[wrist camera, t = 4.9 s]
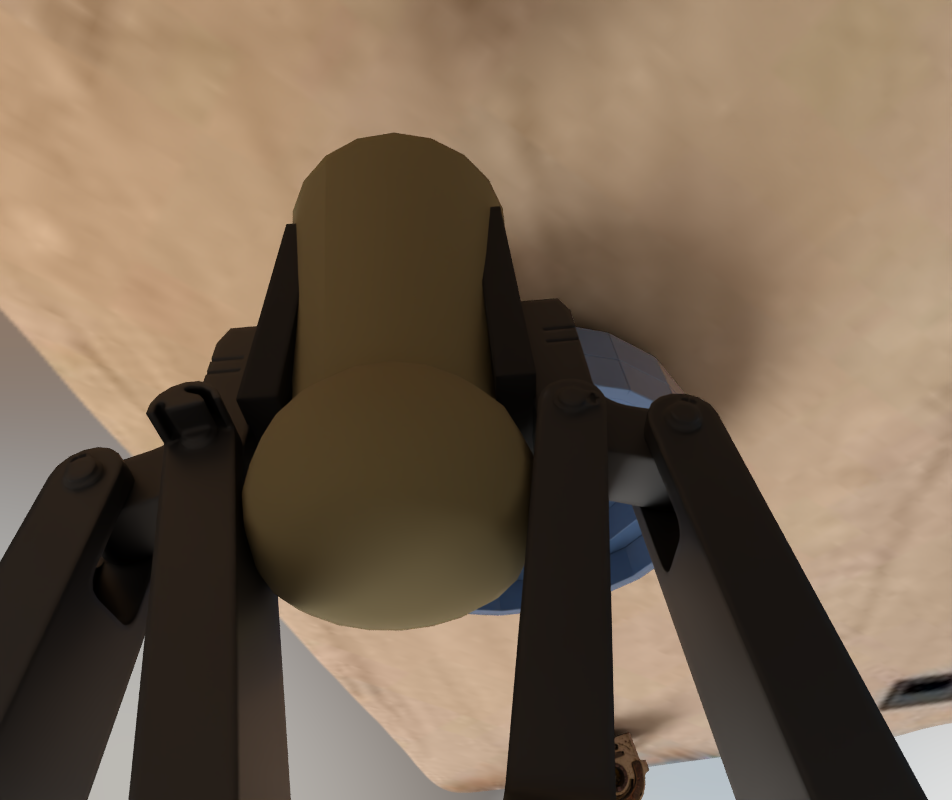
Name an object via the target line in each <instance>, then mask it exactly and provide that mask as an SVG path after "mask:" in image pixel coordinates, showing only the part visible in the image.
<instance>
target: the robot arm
mask: <svg viewBox="0 0 952 800" xmlns="http://www.w3.org/2000/svg"><path fill="white" fill-rule="evenodd" d="M482 286H483V294H484V302H485V311H486V319H487V328H488V337H489V345H490V354H491V363H492V371H493V380H494V389H495V397H496V401H497V402H499V403H500V404H502V405H503V406H504V407H505V409H506V410H507V412H508V413H509V415H510V416H511V418H512V419H513V421H514V423H515V424H516V426H517V427H518V429H519V430H520V432H521V434H522V435H523V437H524V439H525V441H526V443H527V444H528V446H529V448H530V450H531V452H532V454H533V457H534V458H533V469H532V481H531V493H530V504H529V516H528V528H527V540H526V551H525V563H524V575H523V586H522V598H521V610H520V622H519V633H518V645H517V657H516V668H515V680H514V692H513V703H512V715H511V727H510V739H509V750H508V762H507V774H506V784H505V792H504V798H503V800H616V778H615V736H614V695H613V654H612V613H611V572H610V531H609V501H614V502H619V503H624V504H629V505H632V507H633V510H634V513H635V515H636V518H637V521H638V524H639V527H640V530H641V532H642V535H643V538H644V541H645V544H646V547H647V549H648V552H649V555H650V558H651V561H652V563H653V566H654V569H655V572H656V575H657V578H658V580H659V583H660V586H661V589H662V592H663V595H664V597H665V600H666V603H667V606H668V609H669V612H670V614H671V617H672V620H673V623H674V626H675V629H676V631H677V634H678V637H679V640H680V643H681V646H682V648H683V651H684V654H685V657H686V660H687V663H688V665H689V668H690V671H691V674H692V677H693V680H694V682H695V685H696V688H697V691H698V694H699V697H700V699H701V702H702V705H703V708H704V711H705V714H706V716H707V719H708V722H709V725H710V728H711V731H712V733H713V736H714V739H715V742H716V745H717V747H718V750H719V753H720V756H721V759H722V761H723V764H724V767H725V770H726V773H727V776H728V779H729V781H730V784H731V787H732V790H733V793H734V795H735V798H736V800H928V799H927V797H926V795H925V793H924V792H923V790H922V788H921V786H920V784H919V782H918V781H917V779H916V777H915V775H914V773H913V772H912V770H911V768H910V766H909V764H908V762H907V760H906V758H905V757H904V755H903V753H902V751H901V749H900V748H899V746H898V744H897V742H896V740H895V738H894V736H893V735H892V733H891V731H890V729H889V727H888V725H887V724H886V722H885V720H884V718H883V716H882V714H881V713H880V711H879V709H878V707H877V705H876V703H875V702H874V700H873V698H872V696H871V694H870V692H869V691H868V689H867V687H866V685H865V683H864V681H863V680H862V678H861V676H860V674H859V672H858V670H857V669H856V667H855V665H854V663H853V661H852V659H851V657H850V656H849V654H848V652H847V650H846V648H845V646H844V645H843V643H842V641H841V639H840V637H839V635H838V634H837V632H836V630H835V628H834V626H833V624H832V623H831V621H830V619H829V617H828V615H827V613H826V612H825V610H824V608H823V606H822V604H821V602H820V601H819V599H818V597H817V595H816V593H815V591H814V590H813V588H812V586H811V584H810V582H809V580H808V579H807V577H806V575H805V573H804V571H803V569H802V568H801V566H800V564H799V562H798V560H797V558H796V556H795V555H794V553H793V551H792V549H791V547H790V545H789V544H788V542H787V540H786V538H785V536H784V534H783V533H782V531H781V529H780V527H779V525H778V523H777V522H776V520H775V518H774V516H773V514H772V512H771V511H770V509H769V507H768V505H767V503H766V501H765V500H764V498H763V496H762V494H761V492H760V490H759V489H758V487H757V485H756V483H755V481H754V479H753V478H752V476H751V474H750V472H749V470H748V468H747V467H746V465H745V463H744V461H743V459H742V457H741V456H740V454H739V452H738V450H737V448H736V446H735V444H734V443H733V441H732V439H731V437H730V435H729V433H728V432H727V430H726V428H725V426H724V424H723V422H722V421H721V419H720V417H719V415H718V413H717V412H716V411H715V410H714V409H713V407H712V406H711V405H710V404H708V403H707V402H705V401H703V400H702V399H700V398H698V397H695V396H691V395H688V394H668V395H664V396H661V397H659V398H658V399H656V400H655V401H654V402H652V403H651V405H650V407H649V409H648V408H641V407H635V406H629V405H624V404H620V403H617V402H615V401H612V400H610V399H608V398H607V397H605V396H604V394H603V393H602V392H601V391H600V389H599V388H598V387H597V386H595V385H594V383H593V381H592V378H591V375H590V372H589V368H588V365H587V362H586V359H585V356H584V352H583V349H582V346H581V343H580V340H579V336H578V333H577V330H576V328H575V323H574V320H573V317H572V313H571V310H570V309H568V308H567V307H566V306H565V305H564V304H563V303H562V302H561V301H560V300H559V299H558V298H556V299H544V300H533V301H521V300H520V295H519V291H518V286H517V282H516V277H515V272H514V268H513V263H512V258H511V254H510V249H509V245H508V240H507V235H506V231H505V226H504V221H503V217H502V212H501V208H500V206H495V207H490V217H489V228H488V239H487V250H486V258H485V265H484V272H483V279H482ZM298 304H299V279H298V254H297V228H296V223H295V224H286V227H285V231H284V234H283V238H282V241H281V245H280V248H279V252H278V255H277V259H276V262H275V266H274V269H273V273H272V276H271V280H270V283H269V287H268V290H267V293H266V297H265V300H264V304H263V307H262V311H261V314H260V318H259V321H258V325H257V326H254V327H243V328H231V329H230V330H229V331H228V332H227V333H226V334H225V335H224V336H223V337H222V338H221V339H220V341H219V342H218V343H217V345H216V347H215V350H214V353H213V356H212V362H210V364H209V367H208V370H207V375H206V376H205V379H204V381H203V382H200V381H195V382H185V383H182V384H179V385H176V386H173V387H171V388H169V389H167V390H166V391H164V392H162V393H161V394H159V395H158V396H157V397H156V398H155V399H154V400H153V401H152V402H151V404H150V405H149V408H148V410H147V413H146V414H147V416H148V418H149V419H150V421H151V423H152V424H153V426H154V428H155V429H156V431H157V432H158V434H159V436H160V437H161V439H162V441H163V442H164V445H163V446H161V447H159V448H156V449H154V450H152V451H149V452H146V453H142V454H139V455H136V456H133V457H130V458H128V459H124V460H123V459H122V458H121V456H120V455H119V453H117V452H115V451H114V450H112V449H110V448H101V447H97V448H92V449H87V450H83V451H81V452H79V453H77V454H74V455H72V456H70V457H69V458H67V459H66V460H65V461H63V462H62V463H61V464H59V465H58V466H57V467H56V468H55V470H54V471H53V472H52V473H51V474H50V476H49V477H48V479H47V481H46V483H45V484H44V486H43V488H42V489H41V491H40V493H39V495H38V496H37V498H36V500H35V502H34V504H33V505H32V507H31V509H30V510H29V512H28V514H27V516H26V518H25V519H24V521H23V523H22V525H21V526H20V528H19V530H18V531H17V533H16V535H15V537H14V539H13V540H12V542H11V544H10V545H9V547H8V549H7V551H6V552H5V554H4V556H3V558H2V560H1V561H0V800H87V799H88V796H89V793H90V791H91V788H92V785H93V782H94V779H95V776H96V773H97V771H98V768H99V765H100V762H101V759H102V756H103V754H104V751H105V748H106V745H107V742H108V739H109V736H110V734H111V731H112V728H113V725H114V722H115V719H116V716H117V714H118V711H119V708H120V705H121V702H122V699H123V696H124V694H125V691H126V688H127V685H128V682H129V679H130V676H131V674H132V671H133V668H134V665H135V662H136V659H137V656H138V653H139V651H140V648H141V645H142V642H143V639H144V636H145V641H144V651H143V661H142V672H141V681H140V691H139V701H138V711H137V721H136V731H135V741H134V751H133V761H132V771H131V781H130V791H129V800H291V798H290V781H289V765H288V749H287V734H286V718H285V702H284V687H283V672H282V671H283V670H282V656H281V640H280V623H279V607H278V596H277V595H275V594H274V593H273V592H272V590H271V589H270V587H269V586H268V585H267V583H266V582H265V581H264V579H263V578H262V577H261V575H260V574H259V572H258V570H257V568H256V566H255V563H254V560H253V556H252V553H251V550H250V547H249V543H248V540H247V537H246V533H245V530H244V521H243V507H242V490H243V486H244V482H245V478H246V475H247V471H248V467H249V464H250V462H251V460H252V458H253V455H254V453H255V451H256V448H257V446H258V444H259V442H260V439H261V437H262V435H263V434H264V432H265V431H266V429H267V427H268V426H269V424H270V423H271V421H272V420H273V418H274V416H275V415H276V414H277V413H278V412H279V411H280V410H281V409H282V408H283V407H284V406H286V405H287V404H288V403H289V402H290V401H291V400H292V374H293V362H294V351H295V339H296V327H297V315H298Z"/></svg>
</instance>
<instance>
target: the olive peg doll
mask: <svg viewBox="0 0 952 800" xmlns="http://www.w3.org/2000/svg"><path fill="white" fill-rule="evenodd" d="M495 206H500V208H501V212H502V217H503V221H504V216H503V208H502V206H501V204H500V202H499V200H498V198H497V196H496V194H495V192H494V190H493V188H492V186H491V184H490V181H489V179H488V178H487V177H486V176H485V175H484V174H483V173H482V172H481V171H480V170H479V169H478V168H477V167H476V166H475V165H474V164H473V163H472V162H471V161H470V160H469V159H468V158H467V157H466V156H465V155H463V154H461V153H459V152H457V151H455V150H453V149H451V148H449V147H447V146H445V145H443V144H441V143H439V142H437V141H435V140H433V139H431V138H425V137H418V136H412V135H405V134H399V133H389V134H383V135H377V136H371V137H365V138H359V139H356V140H354V141H352V142H350V143H349V144H347V145H345V146H343V147H341V148H339V149H338V150H336V151H334V152H332V153H330V154H328V155H327V156H325V157H324V159H323V160H322V161H321V162H320V163H319V164H318V165H317V167H316V168H315V169H314V170H313V171H312V172H311V173H310V175H309V176H308V177H307V178H306V179H305V180H304V182H303V185H302V187H301V190H300V193H299V196H298V198H297V201H296V204H295V207H294V210H293V224H295V223H296V228H297V254H298V279H299V304H298V315H297V327H296V339H295V351H294V362H293V374H292V400H291V401H290V402H289V403H288V404H287V405H286V406H284V407H283V408H282V409H281V410H280V411H279V412H278V413H277V414H276V415H275V416H274V418H273V420H272V421H271V423H270V424H269V426H268V427H267V429H266V431H265V432H264V434H263V435H262V437H261V439H260V442H259V444H258V446H257V448H256V451H255V453H254V455H253V458H252V460H251V462H250V464H249V467H248V471H247V475H246V478H245V482H244V486H243V490H242V507H243V521H244V530H245V533H246V537H247V540H248V543H249V547H250V550H251V553H252V556H253V560H254V563H255V566H256V568H257V570H258V572H259V574H260V575H261V577H262V578H263V579H264V581H265V582H266V583H267V585H268V586H269V587H270V589H271V590H272V592H273V593H274V594H275V595H277V596H278V597H280V598H281V599H283V600H284V601H286V602H288V603H289V604H291V605H292V606H294V607H295V608H297V609H298V610H300V611H302V612H305V613H307V614H309V615H311V616H314V617H317V618H320V619H323V620H325V621H328V622H331V623H334V624H337V625H341V626H347V627H353V628H360V629H366V630H408V629H415V628H422V627H430V626H435V625H438V624H441V623H445V622H448V621H451V620H455V619H458V618H461V617H463V616H465V615H467V614H469V613H471V612H473V611H475V610H477V609H478V608H480V607H482V606H484V605H486V604H488V603H490V602H492V601H493V600H495V599H497V598H498V597H499V596H500V595H502V594H503V593H504V592H505V591H506V590H507V589H508V588H509V587H510V586H511V585H512V584H513V583H514V582H515V581H516V580H517V579H518V577H519V575H520V573H521V571H522V569H523V567H524V563H525V551H526V540H527V528H528V516H529V504H530V493H531V481H532V469H533V458H534V457H533V454H532V452H531V450H530V448H529V446H528V444H527V443H526V441H525V439H524V437H523V435H522V434H521V432H520V430H519V429H518V427H517V426H516V424H515V423H514V421H513V419H512V418H511V416H510V415H509V413H508V412H507V410H506V409H505V407H504V406H503V405H502V404H500V403H499V402H497V401H496V397H495V389H494V380H493V371H492V363H491V354H490V345H489V337H488V328H487V319H486V311H485V302H484V294H483V286H482V279H483V272H484V265H485V258H486V250H487V239H488V228H489V217H490V207H495ZM504 226H505V225H504Z"/></svg>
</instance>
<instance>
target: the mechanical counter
mask: <svg viewBox="0 0 952 800" xmlns="http://www.w3.org/2000/svg"><path fill="white" fill-rule="evenodd" d="M648 771H649V768H648V764H647V762H646V760H640V759H639V757H638V754H637V751H636V749H635V746H634V743H633V740H632V737H631V735H630V733H629V732H628V733H625V734H622V735H619V736H616V737H615V778H616V800H641V799H642V797H643V794H644V789H645V774H646V772H648Z"/></svg>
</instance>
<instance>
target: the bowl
mask: <svg viewBox="0 0 952 800" xmlns="http://www.w3.org/2000/svg"><path fill="white" fill-rule="evenodd" d="M575 328H576V330H577V333H578V336H579V340H580V343H581V346H582V349H583V352H584V356H585V359H586V362H587V365H588V368H589V372H590V375H591V378H592V381H593V383H594V385H595V386H597V387H598V388H599V389H600V391H601V392H602V393H603V394H604V396H605V397H607V398H608V399H610V400H612V401H615V402H617V403H620V404H624V405H629V406H635V407H641V408H648V409H649V407H650V405H651V403H652V402H654V401H655V400H656V399H658V398H659V397H661V396H664V395H668V394H684V392H683V390H682V389H681V388H680V386H679V385H678V384H677V383H676V382H675V380H674V379H673V378H672V377H671V375H670V374H669V373H668V372H667V371H666V369H665V368H664V367H663V366H662V364H661V363H660V362H659V361H658V360H657V359H656V358H655V357H654V356H652V355H650V354H648V353H646V352H644V351H643V350H641V349H639V348H637V347H635V346H633V345H631V344H629V343H627V342H625V341H623V340H621V339H620V338H618V337H616V336H614V335H612V334H610V333H607V332H603V331H597V330H591V329H585V328H579V327H575ZM609 531H610V572H611V591H613V590H615V589H618V588H620V587H622V586H624V585H627V584H629V583H631V582H633V581H636V580H638V579H640V578H641V577H643V576H644V575H646V574H647V573H649V572H650V571H651V570H653V569H654V566H653V563H652V561H651V558H650V555H649V552H648V549H647V547H646V544H645V541H644V538H643V535H642V532H641V530H640V527H639V524H638V521H637V518H636V515H635V513H634V510H633V507H632V505H629V504H624V503H619V502H614V501H609ZM523 575H524V567H523V569H522V571H521V573H520V575H519V577H518V579H517V580H516V581H515V582H514V583H513V584H512V585H511V586H510V587H509V588H508V589H507V590H506V591H505V592H504V593H503V594H502V595H500V596H499V597H498V598H497V599H495V600H493V601H492V602H490V603H488V604H486V605H484V606H482V607H480V608H478V609H477V610H475V611H473V612H471V613H469V614H476V615H497V616H499V615H510V614H519V613H520V610H521V598H522V586H523Z"/></svg>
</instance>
